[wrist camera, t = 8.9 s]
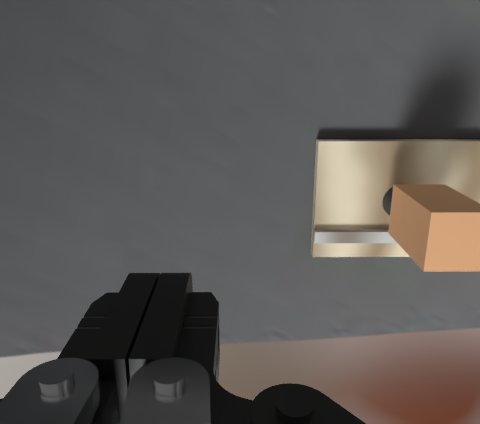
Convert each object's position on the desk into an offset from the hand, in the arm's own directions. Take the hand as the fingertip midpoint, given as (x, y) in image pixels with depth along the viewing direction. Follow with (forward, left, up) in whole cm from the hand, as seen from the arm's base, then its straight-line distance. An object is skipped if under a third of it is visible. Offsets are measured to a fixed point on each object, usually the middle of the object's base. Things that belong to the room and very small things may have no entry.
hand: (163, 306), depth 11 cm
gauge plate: (-6, +20, -27) cm, 34 cm away
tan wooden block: (-4, +16, -26) cm, 31 cm away
